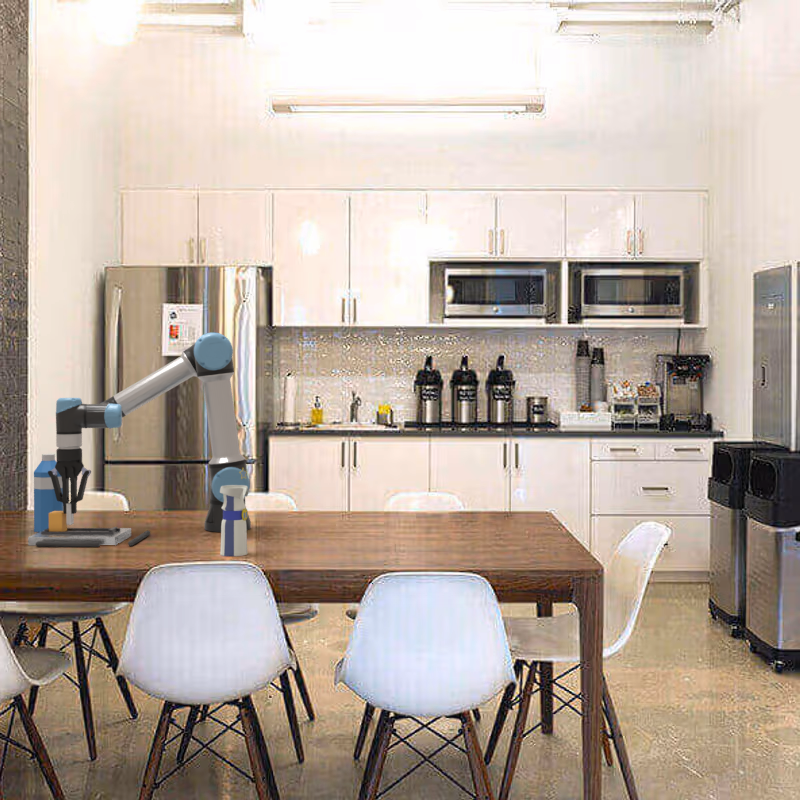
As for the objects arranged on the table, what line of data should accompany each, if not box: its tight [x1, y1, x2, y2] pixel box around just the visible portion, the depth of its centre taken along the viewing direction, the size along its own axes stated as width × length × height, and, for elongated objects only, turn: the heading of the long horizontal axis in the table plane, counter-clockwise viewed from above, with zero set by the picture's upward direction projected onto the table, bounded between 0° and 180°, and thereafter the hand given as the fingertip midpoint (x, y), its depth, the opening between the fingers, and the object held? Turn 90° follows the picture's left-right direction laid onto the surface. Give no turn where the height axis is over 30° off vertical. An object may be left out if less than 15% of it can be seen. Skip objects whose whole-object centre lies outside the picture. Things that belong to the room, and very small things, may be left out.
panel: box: [27, 526, 132, 546], centre depth 311 cm, size 26×18×4 cm
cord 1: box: [35, 541, 101, 548], centre depth 300 cm, size 19×2×2 cm, turn 90°
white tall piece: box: [219, 468, 249, 557], centre depth 289 cm, size 8×9×25 cm
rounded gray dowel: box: [127, 530, 151, 547], centre depth 311 cm, size 21×2×2 cm, turn 0°
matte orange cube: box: [49, 511, 68, 531], centre depth 311 cm, size 4×5×6 cm
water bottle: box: [33, 453, 63, 533], centre depth 331 cm, size 9×9×25 cm
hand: (70, 524), depth 311 cm, fingers closed
